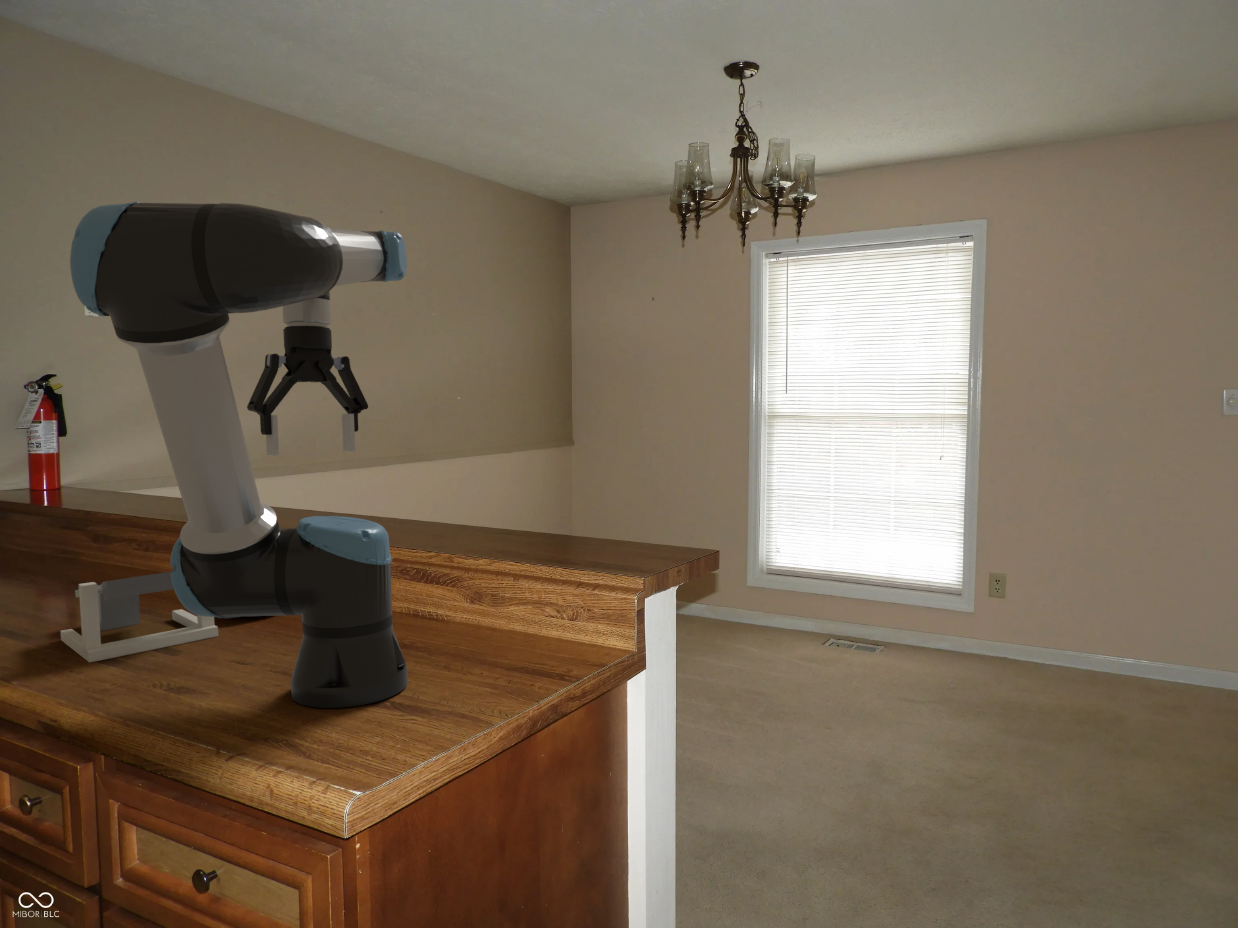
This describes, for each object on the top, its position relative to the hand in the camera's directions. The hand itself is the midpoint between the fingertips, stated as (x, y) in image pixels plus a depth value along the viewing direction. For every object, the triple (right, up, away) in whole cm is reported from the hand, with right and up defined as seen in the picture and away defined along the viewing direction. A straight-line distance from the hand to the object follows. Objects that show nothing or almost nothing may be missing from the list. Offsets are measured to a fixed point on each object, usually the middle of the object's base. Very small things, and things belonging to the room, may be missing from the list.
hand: (312, 453), depth 140 cm
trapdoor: (-28, -24, -2) cm, 37 cm away
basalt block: (-38, -24, +7) cm, 45 cm away
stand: (-28, -31, -1) cm, 42 cm away
